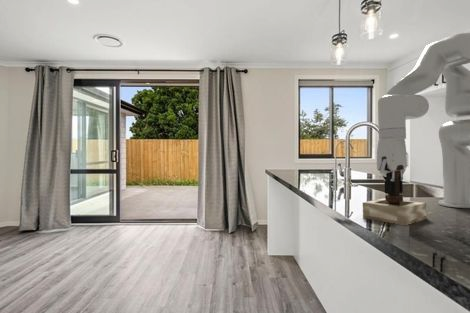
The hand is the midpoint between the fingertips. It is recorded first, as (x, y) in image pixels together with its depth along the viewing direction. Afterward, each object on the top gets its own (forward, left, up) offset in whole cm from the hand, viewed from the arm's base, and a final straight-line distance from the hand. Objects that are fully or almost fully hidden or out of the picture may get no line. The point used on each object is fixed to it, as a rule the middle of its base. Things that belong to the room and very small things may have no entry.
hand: (393, 192), depth 90 cm
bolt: (0, 0, -6) cm, 6 cm away
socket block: (0, 0, -8) cm, 8 cm away
